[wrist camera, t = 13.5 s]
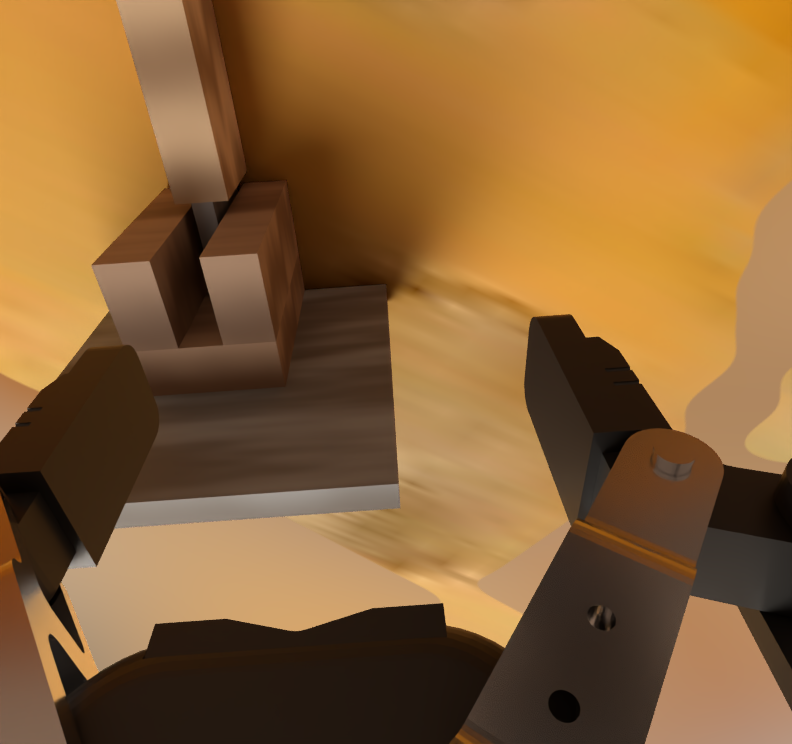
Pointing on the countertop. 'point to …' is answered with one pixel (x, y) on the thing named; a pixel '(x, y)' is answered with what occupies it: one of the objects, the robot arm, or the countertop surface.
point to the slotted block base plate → (248, 368)
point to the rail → (188, 102)
